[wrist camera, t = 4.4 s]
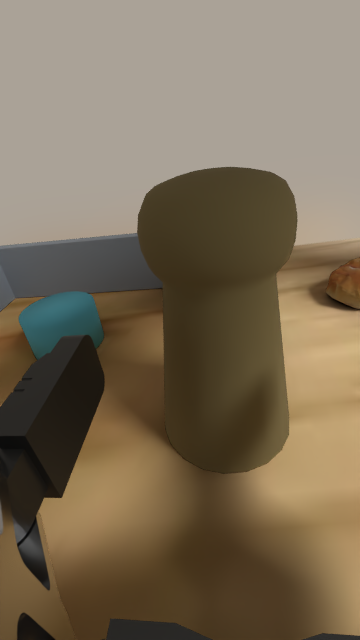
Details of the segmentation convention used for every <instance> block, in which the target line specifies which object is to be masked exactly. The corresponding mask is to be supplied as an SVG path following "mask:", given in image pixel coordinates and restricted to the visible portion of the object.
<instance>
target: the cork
mask: <svg viewBox="0 0 360 640" xmlns="http://www.w3.org/2000/svg"><path fill="white" fill-rule="evenodd" d="M296 228H297V211H296V204H295V198H294V195H293V193H292V191H291V190H290V188H289V186H288V184H287V182H286V181H285V180H284V179H282V178H281V177H279V176H277V175H276V174H274V173H271V172H267V171H262V170H256V169H251V168H238V167H221V168H211V169H204V170H198V171H193V172H190V173H187V174H183V175H180V176H177V177H174V178H172V179H170V180H167V181H165V182H163V183H160V184H158V185H157V186H155V187H154V188H153V189H151V190H150V191H149V192H148V193H147V194H146V196H145V198H144V201H143V203H142V206H141V209H140V212H139V214H138V230H137V234H138V239H139V244H140V248H141V252H142V254H143V256H144V258H145V260H146V262H147V265H148V267H149V268H150V269H151V271H152V272H153V273H154V275H155V276H157V277H158V278H159V279H160V280H161V281H162V282H163V332H164V390H165V429H166V432H167V435H168V438H169V440H170V443H171V445H172V446H173V447H174V448H175V449H176V451H177V452H178V453H179V454H180V455H181V456H182V457H183V458H184V459H185V460H187V461H189V462H191V463H192V464H194V465H196V466H198V467H199V468H201V469H205V470H210V471H214V472H219V473H223V474H225V473H238V472H247V471H250V470H252V469H255V468H257V467H260V466H262V465H264V464H267V463H268V462H269V461H270V460H271V459H272V458H273V457H275V456H276V455H277V454H278V453H279V452H280V451H281V450H282V448H283V446H284V444H285V441H286V439H287V437H288V435H289V411H288V400H287V389H286V378H285V367H284V356H283V345H282V334H281V323H280V312H279V301H278V291H277V280H276V273H277V272H278V271H279V270H280V269H281V267H282V266H283V265H284V264H285V263H286V262H287V260H288V259H289V257H290V254H291V251H292V248H293V246H294V243H295V239H296V230H297V229H296Z"/></svg>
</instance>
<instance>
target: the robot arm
mask: <svg viewBox="0 0 360 640" xmlns="http://www.w3.org/2000/svg"><path fill="white" fill-rule="evenodd" d="M104 382H105V381H104V373H103V370H102V367H101V364H100V361H99V358H98V355H97V352H96V349H95V346H94V342H93V340H92V338H91V336H89V335H71V336H63V337H61V338H60V340H59V341H58V342H57V344H56V345H55V347H54V348H53V350H52V351H51V353H46V354H45V355H44V356H42V357H41V358H40V359H39V360H37V361H36V362H35V363H33V364H32V365H31V367H30V368H29V369H28V371H27V372H26V373H25V375H24V376H23V377H22V381H19V383H18V384H17V385H16V387H15V388H14V392H13V393H11V394H10V395H9V396H8V398H7V399H6V400H5V402H4V403H3V404H2V406H1V407H0V640H76V638H75V634H74V631H73V628H72V625H71V622H70V619H69V617H68V614H67V612H66V610H65V608H64V606H63V603H62V601H61V598H60V595H59V592H58V588H57V583H56V579H55V575H54V570H53V566H52V562H51V557H50V553H49V548H48V544H47V540H46V535H45V531H44V526H43V522H42V518H41V515H40V513H39V511H38V510H39V508H40V506H41V503H42V501H43V499H44V498H62V496H63V493H64V491H65V488H66V486H67V483H68V481H69V478H70V475H71V473H72V470H73V468H74V465H75V463H76V460H77V458H78V455H79V453H80V450H81V448H82V445H83V442H84V440H85V437H86V435H87V432H88V430H89V427H90V425H91V422H92V420H93V417H94V415H95V412H96V409H97V407H98V404H99V402H100V399H101V397H102V394H103V391H104ZM102 640H212V639H210V638H207V637H205V636H203V635H201V634H199V633H196V632H194V631H192V630H190V629H188V628H185V627H183V626H181V625H179V624H176V623H167V622H153V621H138V620H124V619H110V623H109V628H108V634H107V638H106V639H102ZM303 640H360V636H354V635H340V634H325V633H322V634H319V635H316V636H313V637H309V638H306V639H303Z"/></svg>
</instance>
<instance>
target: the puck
mask: <svg viewBox="0 0 360 640" xmlns="http://www.w3.org/2000/svg"><path fill="white" fill-rule="evenodd" d="M19 323H20V325H21V327H22V329H23V331H24V333H25V336H26V338H27V340H28V342H29V344H30V346H31V349H32V351H33V353H34V355H35V357H36V359H37V360H39V359H40V358H41V357H42V356H44V355H45V354H46V353H51V351H52V350H53V348H54V347H55V345H56V344H57V342H58V341H59V340H60V338H61V337H63V336H71V335H89V336H91V338H92V340H93V342H94V346H95V349H96V348H97V347H98V346H99V345H100V344H101V342H102V341H103V338H104V332H103V329H102V325H101V322H100V318H99V315H98V312H97V308H96V305H95V301H94V298H93V296H92V295H90V294H88V293H86V292H79V291H72V292H63V293H58V294H54V295H51V296H48V297H45V298H43V299H40V300H38V301H36V302H34V303H33V304H31V305H29V306H28V307H27V308H25V309H24V310H23V311H22V312H21V314H20V316H19Z"/></svg>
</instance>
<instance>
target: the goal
mask: <svg viewBox="0 0 360 640" xmlns="http://www.w3.org/2000/svg"><path fill="white" fill-rule="evenodd" d="M156 288H163V282H162V281H161V280H160V279H159V278H158V277H157V276H155V275H154V273H153V272H152V271H151V269H150V268H149V267H148V265H147V262H146V260H145V258H144V256H143V254H142V252H141V248H140V244H139V239H138V234H137V233H134V234H123V235H112V236H101V237H92V238H91V237H90V238H80V239H70V240H59V241H49V242H37V243H26V244H15V245H5V246H0V311H1V310H2V309H4V308H5V307H6V306H7V305H8V304H9V303H10V302H12V301H13V300H14V299H15V298H25V297H39V296H51V295H54V294H58V293H63V292H72V291H79V292H86V293H97V292H112V291H127V290H141V289H156Z"/></svg>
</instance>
